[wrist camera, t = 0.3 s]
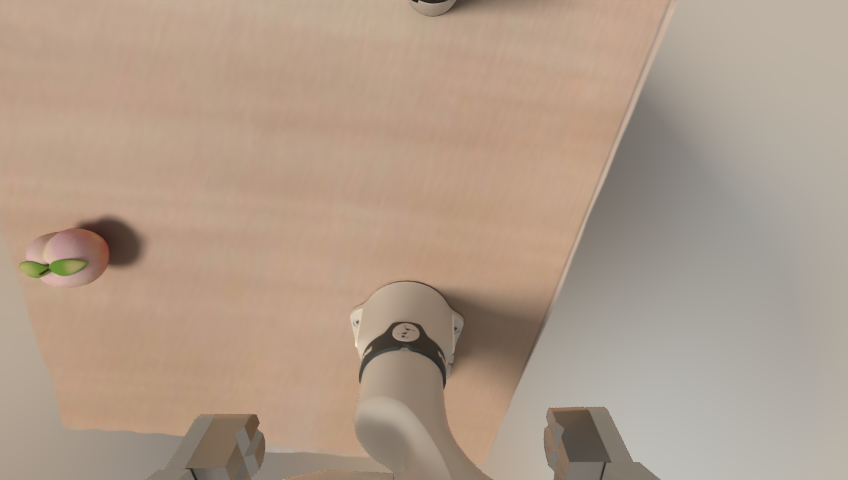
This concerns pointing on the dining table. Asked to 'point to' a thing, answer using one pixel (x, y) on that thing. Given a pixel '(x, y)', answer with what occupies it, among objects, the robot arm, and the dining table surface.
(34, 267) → the decorative fruit
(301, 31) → the dining table surface
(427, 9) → the travel mug
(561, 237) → the dining table surface
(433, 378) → the robot arm
